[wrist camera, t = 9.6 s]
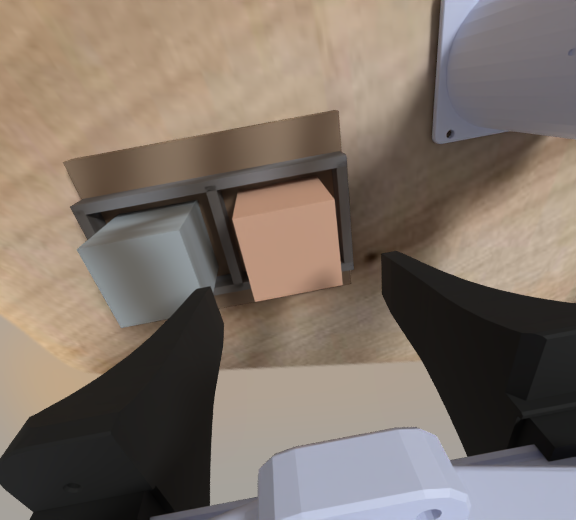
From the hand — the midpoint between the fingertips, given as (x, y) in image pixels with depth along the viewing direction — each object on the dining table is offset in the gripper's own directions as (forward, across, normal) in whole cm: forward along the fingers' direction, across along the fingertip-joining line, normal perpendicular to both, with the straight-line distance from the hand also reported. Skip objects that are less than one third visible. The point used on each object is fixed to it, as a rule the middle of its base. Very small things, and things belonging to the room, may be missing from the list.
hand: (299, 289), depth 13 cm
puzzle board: (+9, +4, 0) cm, 10 cm away
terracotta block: (+8, 0, 0) cm, 8 cm away
